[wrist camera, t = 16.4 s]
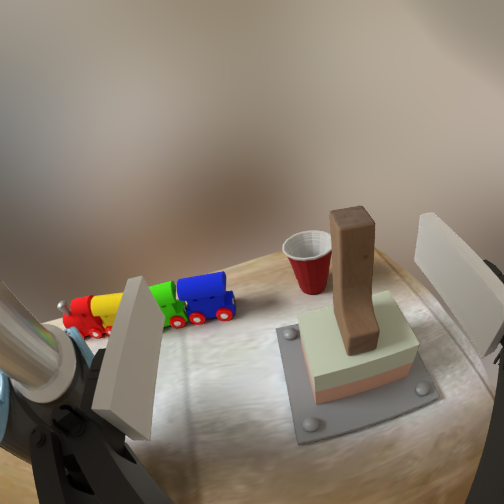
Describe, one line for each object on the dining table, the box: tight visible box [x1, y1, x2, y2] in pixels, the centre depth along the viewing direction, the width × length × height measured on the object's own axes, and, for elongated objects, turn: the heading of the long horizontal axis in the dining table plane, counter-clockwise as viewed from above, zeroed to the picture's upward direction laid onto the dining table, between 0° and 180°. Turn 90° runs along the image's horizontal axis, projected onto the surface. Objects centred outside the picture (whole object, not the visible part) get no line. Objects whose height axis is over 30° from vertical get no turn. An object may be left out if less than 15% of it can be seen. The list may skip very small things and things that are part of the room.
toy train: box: [58, 272, 235, 339], centre depth 63 cm, size 45×7×11 cm, turn 96°
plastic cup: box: [282, 230, 332, 295], centre depth 63 cm, size 11×11×12 cm
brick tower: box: [276, 290, 440, 445], centre depth 44 cm, size 24×24×11 cm
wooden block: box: [329, 206, 380, 356], centre depth 36 cm, size 9×4×18 cm, turn 2°
